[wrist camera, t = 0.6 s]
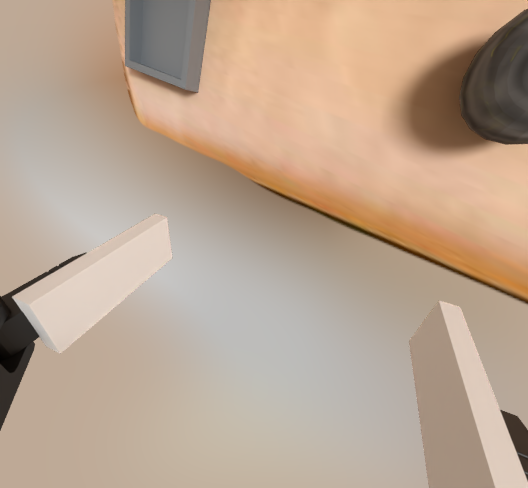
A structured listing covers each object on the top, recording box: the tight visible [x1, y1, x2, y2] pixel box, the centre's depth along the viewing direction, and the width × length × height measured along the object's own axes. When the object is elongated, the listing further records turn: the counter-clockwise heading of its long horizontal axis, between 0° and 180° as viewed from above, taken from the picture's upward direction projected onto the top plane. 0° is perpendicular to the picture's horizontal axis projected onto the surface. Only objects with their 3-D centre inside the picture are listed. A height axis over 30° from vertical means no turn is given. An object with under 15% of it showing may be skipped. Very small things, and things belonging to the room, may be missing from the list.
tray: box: [125, 0, 211, 92], centre depth 36 cm, size 13×13×3 cm
